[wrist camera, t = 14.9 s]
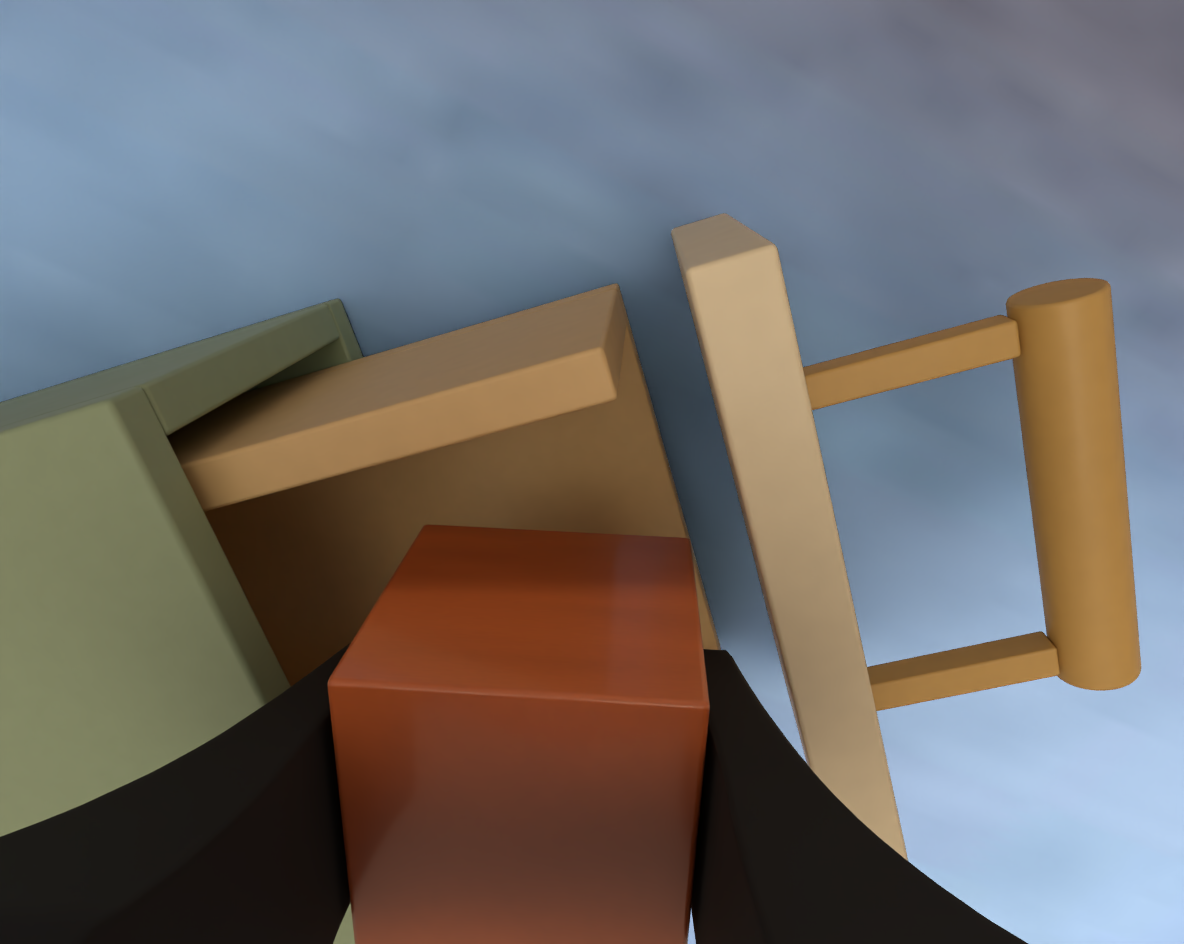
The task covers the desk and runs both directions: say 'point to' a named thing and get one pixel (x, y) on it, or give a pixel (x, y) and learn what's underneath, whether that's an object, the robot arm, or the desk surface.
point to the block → (524, 741)
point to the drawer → (647, 490)
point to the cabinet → (129, 571)
